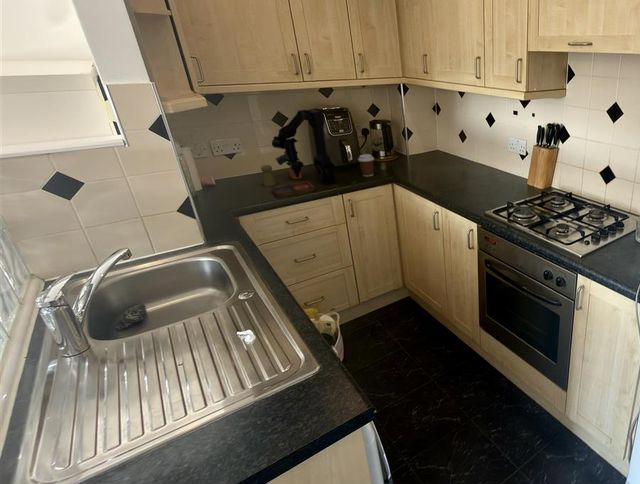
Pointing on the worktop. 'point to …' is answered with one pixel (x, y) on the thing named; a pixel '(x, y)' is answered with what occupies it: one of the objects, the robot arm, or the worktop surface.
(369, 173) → the coffee cup
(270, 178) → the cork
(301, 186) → the sorting tray
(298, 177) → the terracotta block
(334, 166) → the robot arm
